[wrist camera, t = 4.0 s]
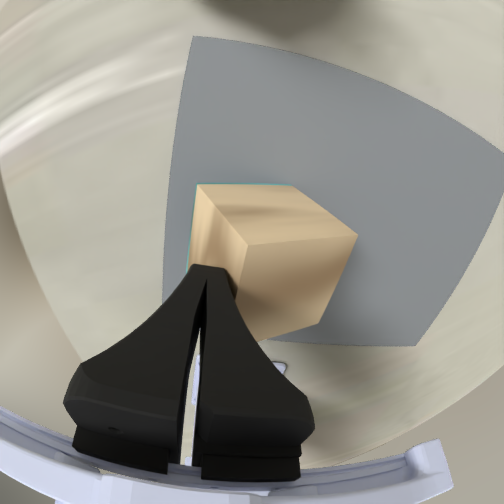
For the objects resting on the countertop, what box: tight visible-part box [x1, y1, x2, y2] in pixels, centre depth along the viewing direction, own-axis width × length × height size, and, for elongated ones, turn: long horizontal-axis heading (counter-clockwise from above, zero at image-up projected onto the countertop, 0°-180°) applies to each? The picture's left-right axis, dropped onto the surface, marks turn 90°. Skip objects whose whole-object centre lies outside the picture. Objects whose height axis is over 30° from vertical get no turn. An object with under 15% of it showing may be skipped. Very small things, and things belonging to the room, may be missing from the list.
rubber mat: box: [162, 36, 504, 346], centre depth 18 cm, size 20×24×1 cm
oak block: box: [186, 183, 358, 342], centre depth 14 cm, size 6×6×6 cm
